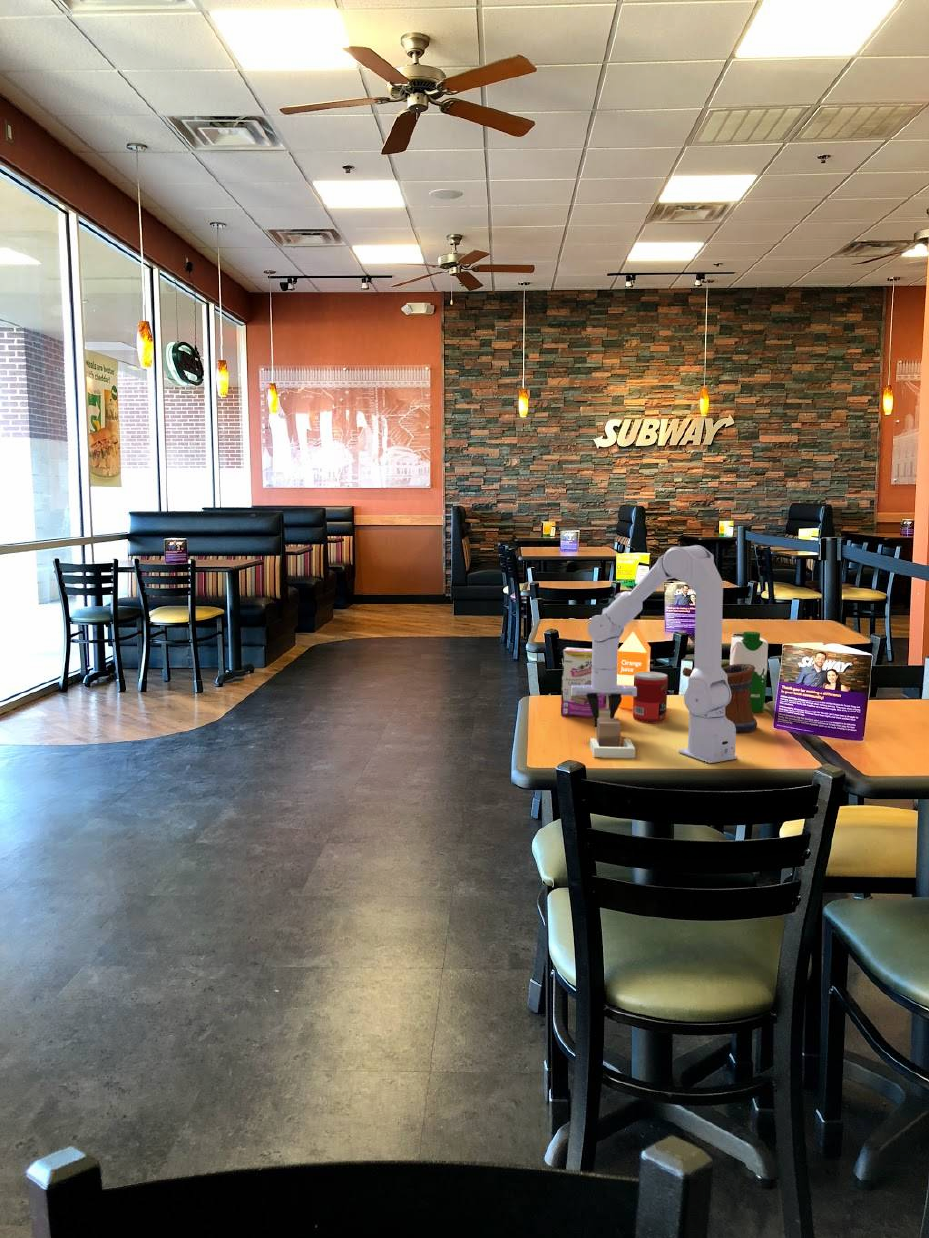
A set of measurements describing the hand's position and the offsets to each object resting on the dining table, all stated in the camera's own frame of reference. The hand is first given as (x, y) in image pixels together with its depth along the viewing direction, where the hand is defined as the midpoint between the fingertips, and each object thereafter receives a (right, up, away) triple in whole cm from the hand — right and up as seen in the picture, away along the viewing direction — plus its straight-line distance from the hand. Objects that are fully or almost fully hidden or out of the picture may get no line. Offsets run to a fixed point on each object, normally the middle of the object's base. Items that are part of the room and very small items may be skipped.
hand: (602, 726), depth 211 cm
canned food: (+13, 0, +14) cm, 19 cm away
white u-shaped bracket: (0, -4, -15) cm, 16 cm away
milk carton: (+40, +1, +25) cm, 48 cm away
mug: (+28, -1, +6) cm, 29 cm away
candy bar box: (-2, 0, +17) cm, 17 cm away
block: (0, -3, -6) cm, 7 cm away
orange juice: (+12, +2, +29) cm, 32 cm away
